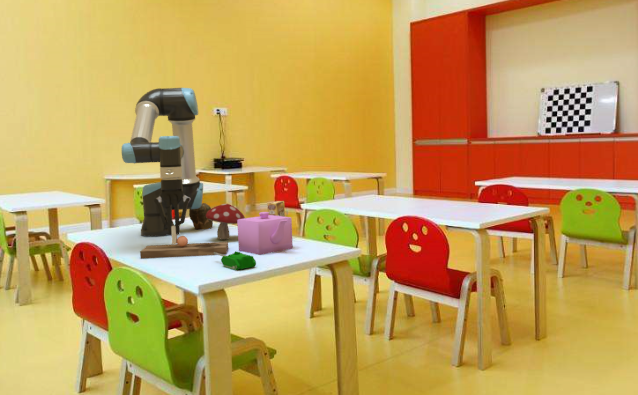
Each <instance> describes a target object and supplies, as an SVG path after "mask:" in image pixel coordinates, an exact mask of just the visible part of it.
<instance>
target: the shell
mask: <svg viewBox="0 0 638 395" xmlns="http://www.w3.org/2000/svg"><path fill="white" fill-rule="evenodd" d="M210 209H212V208H211V206H210V205H209V204H208V203H206V202H202V205H201V207H200V208H198V209H192V210H191V209H188V212H189V213H188V217H189V219H190V221H191V223H192V224H193V228H194V229H195V230H209V228H210V229H212V228H213V225H214V224H213V223H214V221H212V220H209V219H208V218H207V217H206V214H207V212H208V211H209V210H210Z"/></svg>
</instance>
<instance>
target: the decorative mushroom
mask: <svg viewBox="0 0 638 395" xmlns="http://www.w3.org/2000/svg"><path fill="white" fill-rule="evenodd" d="M206 217H207V218H208V219H209V220H212V221H213V222H216V223H219V225H218V227H217V232H216V235H217V237H216V238H217V239H218V240H223V241H224V240H228V239H230V237H231V235H230V229H229V225H230V224H231V225H238V224H237V220H238V219H245V215H244V214H243V213H242V211H241V210H239V209H238V208H237V207H235V206H234V205H231V204H229V203H222V204H219V205H216V206H214V207H212V208H211V209H210V210H209V211H208V212H207V214H206Z"/></svg>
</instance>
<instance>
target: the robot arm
mask: <svg viewBox="0 0 638 395" xmlns="http://www.w3.org/2000/svg"><path fill="white" fill-rule="evenodd" d="M134 109H135V110H134V113H135V120H134V125H133V128H132V133H131V137H130V142H127V143H126V142H125V143H123V144H122V145H121V158H122V161H123V163H125V164H134V165H135V164H146V163H147V164H148V163H159V170H160V171H159V173H160V178H161V180H160V181H159V182H154V183H153V182H152V183H149V184H146V185H143V187H142V194H141V196H142V197H141V198H142V206H143V208H142V209H143V221H142V224H141V229H140V235H141V236H142V237H161V236H163V237H164V236H170V235H171V245H172V244H177V239H178V235H180V233H181V229H180V225H183V224H185V222H186V215H187V212H188V211H187V210H189V209H191V210H192V209H198V208H200V207H201V205H202V203H203V195H204V194H203V193H204V183H202V182H200V181H201V180H200V178H199V176H197V173H196V172H197V171H196V159H195V158H196V157H195V146H194V130H193V123H194V121H195V120H196V116H198V115H199V106H198V100H197V95H196V93H195V91H194V89H192V87H191V88H190V87H168V88H167V87H166V88H160V87H159V88H158V87H157V88H154V89H151V90H149V91H147V92H146V93H145V94H143V95H142V96H141V97H140V98H139V99H138V101H137V102H136V104H135V108H134ZM158 117H167V121H168V122H169V123H171V128H172V135H162V136H159V138H158V142H157V141H155V142H153V141H152V140H153V139H152V138H153V134H154V127H155V123H156V120H157V118H158ZM180 210H182V211H181V216H180ZM173 211H174V221H173Z"/></svg>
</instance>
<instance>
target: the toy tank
mask: <svg viewBox="0 0 638 395" xmlns="http://www.w3.org/2000/svg"><path fill="white" fill-rule="evenodd" d="M213 254H215V255H214V256H221V259H220V262H221V263H222V265H223V268H226V269H229V270H233V271H239V270H243V269H247V268H248V269H249V268H255V267H256V266H257V262H256V260H255V258H254V256H253V255H248V254H245V253H242V252H241V251H239V250H238V251H237V250H236V251H234V252H233V253H232V254H228V255H227V254H223V255H222V254H218V253H216V252H214V253H213Z"/></svg>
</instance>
